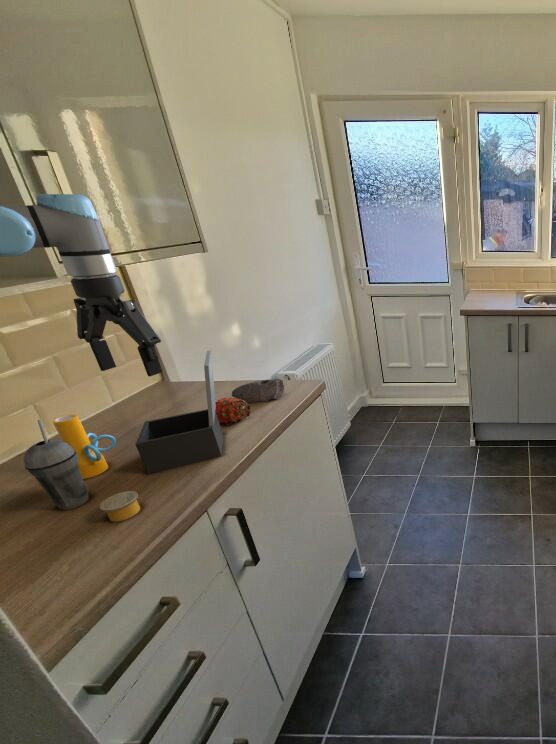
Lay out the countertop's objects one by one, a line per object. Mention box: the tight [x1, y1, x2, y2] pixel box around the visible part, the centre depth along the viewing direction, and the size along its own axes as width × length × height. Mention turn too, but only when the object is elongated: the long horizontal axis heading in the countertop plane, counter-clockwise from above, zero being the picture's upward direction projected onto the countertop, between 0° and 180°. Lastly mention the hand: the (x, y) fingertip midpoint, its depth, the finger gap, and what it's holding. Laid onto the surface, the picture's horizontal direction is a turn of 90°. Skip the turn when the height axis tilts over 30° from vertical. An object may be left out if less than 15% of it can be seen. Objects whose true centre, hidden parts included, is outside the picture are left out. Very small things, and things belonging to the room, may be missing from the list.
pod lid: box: [203, 350, 216, 426], centre depth 103 cm, size 16×13×1 cm
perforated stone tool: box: [231, 378, 285, 404], centre depth 133 cm, size 15×5×7 cm, turn 107°
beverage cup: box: [23, 419, 90, 511], centre depth 84 cm, size 7×7×20 cm
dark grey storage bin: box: [135, 408, 224, 475], centre depth 104 cm, size 15×13×9 cm
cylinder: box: [51, 413, 117, 480], centre depth 95 cm, size 12×10×15 cm
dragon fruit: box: [215, 396, 252, 426], centre depth 120 cm, size 8×8×12 cm
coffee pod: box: [99, 490, 141, 522], centre depth 84 cm, size 6×6×4 cm
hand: (131, 371), depth 94 cm, fingers open, 13 cm apart
